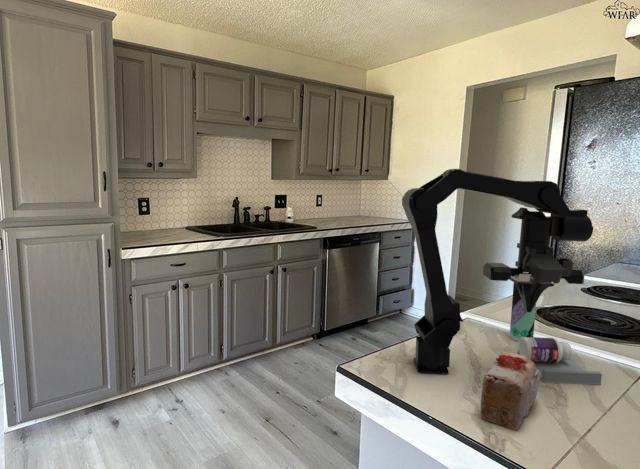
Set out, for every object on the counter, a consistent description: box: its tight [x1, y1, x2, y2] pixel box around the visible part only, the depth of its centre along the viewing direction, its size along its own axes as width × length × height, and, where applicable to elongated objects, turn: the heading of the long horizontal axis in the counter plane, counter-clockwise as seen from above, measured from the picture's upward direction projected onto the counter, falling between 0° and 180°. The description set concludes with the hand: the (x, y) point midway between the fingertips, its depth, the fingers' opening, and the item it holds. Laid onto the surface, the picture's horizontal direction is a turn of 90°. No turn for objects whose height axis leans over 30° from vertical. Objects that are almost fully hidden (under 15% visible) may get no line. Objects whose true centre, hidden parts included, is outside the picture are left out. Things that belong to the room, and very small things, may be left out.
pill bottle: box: [517, 336, 573, 363], centre depth 90 cm, size 5×5×10 cm
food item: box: [480, 351, 541, 431], centre depth 71 cm, size 14×8×10 cm, turn 144°
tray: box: [517, 349, 603, 386], centre depth 87 cm, size 11×13×2 cm
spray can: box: [509, 272, 537, 343], centre depth 103 cm, size 6×6×20 cm
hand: (528, 311), depth 86 cm, fingers closed
